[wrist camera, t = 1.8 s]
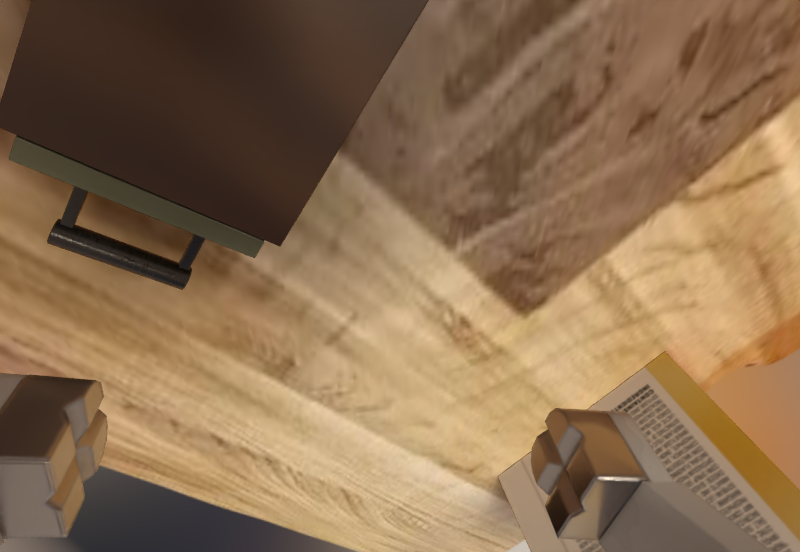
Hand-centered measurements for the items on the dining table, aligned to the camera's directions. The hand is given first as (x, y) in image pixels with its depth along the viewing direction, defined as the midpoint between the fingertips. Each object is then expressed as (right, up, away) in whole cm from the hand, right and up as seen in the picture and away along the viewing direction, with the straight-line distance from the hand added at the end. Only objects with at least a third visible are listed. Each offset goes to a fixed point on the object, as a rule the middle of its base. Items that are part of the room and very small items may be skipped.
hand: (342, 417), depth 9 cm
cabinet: (-8, +16, +18) cm, 26 cm away
